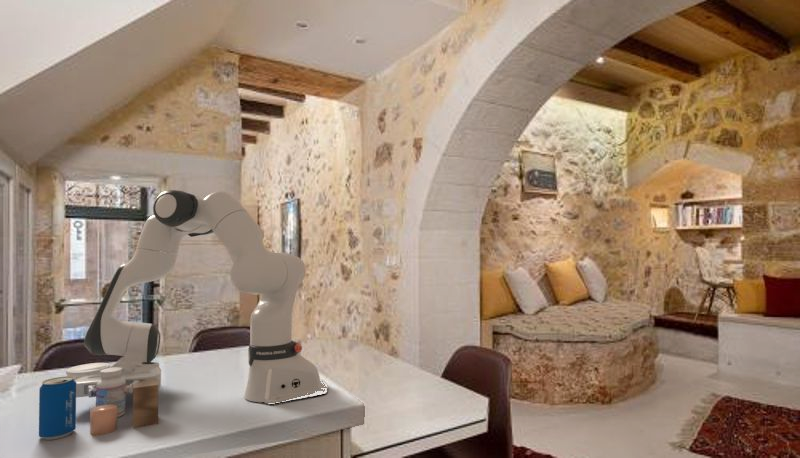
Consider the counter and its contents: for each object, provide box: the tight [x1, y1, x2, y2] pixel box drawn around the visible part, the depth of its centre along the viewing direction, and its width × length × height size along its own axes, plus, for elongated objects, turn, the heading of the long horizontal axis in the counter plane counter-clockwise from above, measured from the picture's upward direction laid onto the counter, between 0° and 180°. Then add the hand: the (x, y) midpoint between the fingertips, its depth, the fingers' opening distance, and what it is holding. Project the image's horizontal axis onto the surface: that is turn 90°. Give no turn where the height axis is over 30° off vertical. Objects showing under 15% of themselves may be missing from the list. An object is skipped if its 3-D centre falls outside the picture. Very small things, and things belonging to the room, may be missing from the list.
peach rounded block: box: [89, 404, 118, 436], centre depth 102 cm, size 5×5×5 cm
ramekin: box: [65, 362, 111, 381], centre depth 138 cm, size 11×11×5 cm
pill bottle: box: [95, 367, 126, 418], centre depth 111 cm, size 6×6×11 cm
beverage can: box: [38, 375, 77, 441], centre depth 100 cm, size 6×6×12 cm
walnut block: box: [132, 379, 159, 429], centre depth 106 cm, size 5×5×9 cm
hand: (110, 392), depth 110 cm, fingers closed on pill bottle, 6 cm apart
